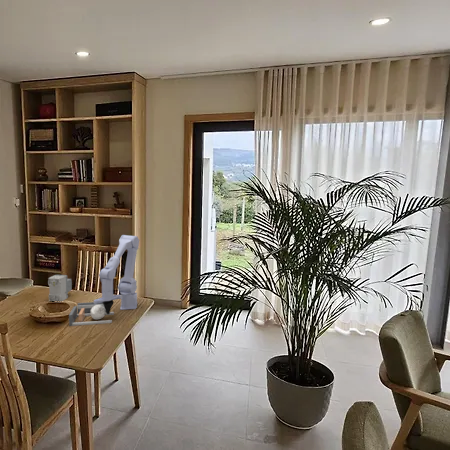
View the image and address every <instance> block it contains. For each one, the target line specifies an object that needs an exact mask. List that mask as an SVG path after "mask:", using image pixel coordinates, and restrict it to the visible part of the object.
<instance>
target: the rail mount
mask: <svg viewBox="0 0 450 450" xmlns="http://www.w3.org/2000/svg"><path fill="white" fill-rule="evenodd" d="M95 305H101V306H103V307H104V305H103V303H97V304H94V301H92V302H78V303H77V305H76V306H75V305H74V306H73V307H72V309H71V311H70V312H69V314H68V326H69V327H73V326H85V325H86V326H89V325H100V324H101V325H102V324H103V325H104V324H112V323H113V320H112V319H108V320H98V321H97V320H95V321H83V322H79V321H78V322H77V321H76V319H77V318H79V313H80V311H81V309H82V308H85V317H91V314H90V312H91V309H92V307H93V306H95ZM104 308H105V307H104ZM105 310H106V309H105ZM113 315H115V312H114V311H110V314H107V313H105V315H104V316H113ZM75 321H76V322H75Z"/></svg>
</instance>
